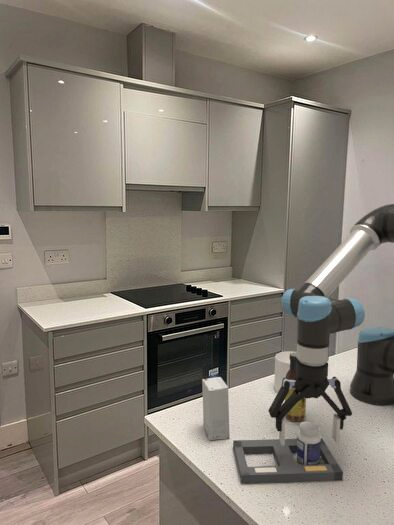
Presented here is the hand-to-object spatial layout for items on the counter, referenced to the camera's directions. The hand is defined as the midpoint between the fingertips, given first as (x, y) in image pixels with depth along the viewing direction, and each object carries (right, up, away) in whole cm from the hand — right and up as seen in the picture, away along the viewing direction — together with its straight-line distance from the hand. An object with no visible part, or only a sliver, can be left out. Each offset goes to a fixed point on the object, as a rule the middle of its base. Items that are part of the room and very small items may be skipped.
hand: (308, 441), depth 101 cm
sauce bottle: (+2, -3, +23) cm, 23 cm away
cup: (+5, 0, +41) cm, 41 cm away
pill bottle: (0, -6, +1) cm, 6 cm away
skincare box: (-23, -4, +15) cm, 27 cm away
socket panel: (-6, -6, +1) cm, 8 cm away
